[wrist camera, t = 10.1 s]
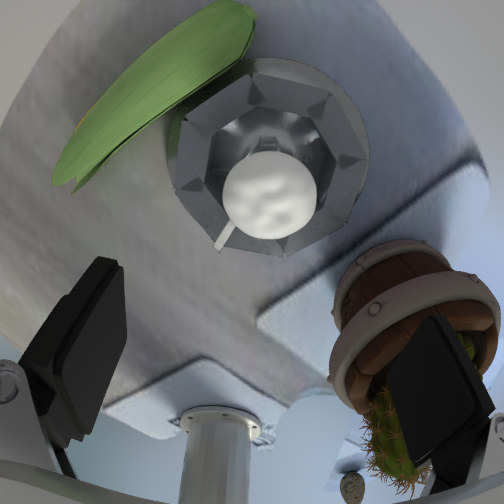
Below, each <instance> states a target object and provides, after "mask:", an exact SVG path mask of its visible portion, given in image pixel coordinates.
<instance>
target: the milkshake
mask: <svg viewBox="0 0 504 504" xmlns="http://www.w3.org/2000/svg"><path fill="white" fill-rule="evenodd" d="M316 197H317V190H316V184H315V181H314V179H313V177H312V175H311V173H310V172H309V170H308V169H307V168H306V167H305V165H304V164H303V163H302V162H301V161H300V160H299V159H298V158H297V157H296V156H295V154H294V153H293V152H292V151H291V149H290V148H289V147H288V146H287V144H285V143H284V142H283V141H281V140H280V139H279V138H277V137H276V136H264V135H260V136H259V137H257V138H256V139H254V140H253V141H251V142H250V143H248V145H247V146H246V148H245V150H244V152H243V153H242V155H241V157H240V159H239V160H238V162H237V163H236V164H235V166H234V167H233V168H232V169H231V171H230V172H229V174H228V176H227V178H226V181H225V184H224V188H223V195H222V199H223V205H224V208H225V211H226V213H227V215H228V216H229V218H230V220H229V221H228V223H227V224H226V226H225V227H224V229H223V231H222V232H221V234H220V235H219V237H218V238H217V240H216V242H215V243H214V245H213V248H214V249H215V250H216V252H217V253H220V251H221V249H222V248H223V246H224V245H225V243H226V241H227V240H228V238H229V236H230V235H231V233H232V231H233V230H234V228H235V226H237V227H238V228H239V229H240V230H241V231H243V232H244V233H246V234H248V235H250V236H252V237H255V238H260V239H279V238H283V237H286V236H288V235H290V234H292V233H294V232H296V231H298V230H299V229H301V228H302V227H304V226H305V225H306V224H307V223H308V221H309V220H310V219H311V217H312V216H313V214H314V211H315V207H316Z"/></svg>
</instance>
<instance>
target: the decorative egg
mask: <svg viewBox="0 0 504 504" xmlns="http://www.w3.org/2000/svg"><path fill="white" fill-rule="evenodd" d="M340 491H341V494H342V497H343V499H344V501H345V502H346V503H347V504H361V502H362V500H363V496H364V492H365V482H364V479H363V477H362V476H361V475H360V474H359V473H356V472H350V473H347V474H346V475H344V477H343V478H342V479H341V482H340Z"/></svg>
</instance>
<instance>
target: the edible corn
mask: <svg viewBox="0 0 504 504" xmlns="http://www.w3.org/2000/svg"><path fill="white" fill-rule="evenodd" d="M257 18H258V16H257V14H256V13H255V12H254V10H253V9H252V8H251V7H250V5H248V4H245V5H243V6H242V5H241V4H240V3H237V2H235V1H232V0H218V1H216V2H213V3H211V4H210V5H208V6H206V7H205V8H203V9H201V10H200V11H198V12H197V13H195V14H194V15H192V16H190V17H189V18H187V19H186V20H185V21H183V22H182V23H180V24H179V25H178V26H176V27H175V28H174V29H172V30H171V31H170V32H168V33H167V34H166V35H164V36H163V37H162V38H160V39H159V40H158V41H157V42H155V43H154V44H153V45H152V46H151V47H150V48H149V49H147V50H146V51H145V52H144V53H143V54H142V55H141V56H140V57H139V58H138V59H136V60H135V61H134V62H133V63H132V64H131V65H130V66H129V67H128V68H127V69H126V70H125V71H124V72H123V73H122V74H121V75H120V76H119V77H118V78H117V80H116V81H115V82H114V83H113V84H112V85H111V86H110V87H109V88H108V90H107V91H106V92H105V93H104V94H103V95H102V97H101V98H100V99H99V100H98V101H97V102H96V103H95V104H94V105H93V106H92V107H91V109H90V110H89V111H88V112H87V114H86V115H85V116H84V118H83V119H82V120H81V122H80V123H79V124H78V126H77V127H76V129H75V132H74V134H73V136H72V137H71V139H70V140H69V142H68V143H67V145H66V147H65V148H64V150H63V152H62V154H61V156H60V158H59V160H58V162H57V164H56V167H55V169H54V171H53V175H52V185H51V186H62V185H63V184H65V183H66V182H68V181H69V180H71V179H72V178H74V177H76V183H78V182H79V183H78V184H77V186H76V187H75V189H74V190H73V192H72V193H71V194H73V193H75V192H76V191H77V190H78V189H79V188H80V187H82V186H83V185H84V184H85V183H86V182H87V181H89V180H90V179H91V178H92V176H93V175H94V174H95V173H96V172H97V171H98V170H99V169H100V168H101V167H102V166H103V165H104V164H105V163H106V162H107V160H108V159H109V158H110V157H111V156H113V155H114V154H115V153H116V152H117V151H118V150H119V149H121V148H122V147H123V146H124V145H125V144H126V143H128V142H129V141H130V140H131V139H132V138H134V137H135V136H136V135H137V134H138V133H140V132H141V131H142V130H143V129H145V128H146V127H147V126H148V125H150V124H151V123H152V122H153V121H155V120H156V119H157V118H159V117H160V116H162V115H163V114H164V113H166V112H167V111H169V110H170V109H171V108H173V107H174V106H176V105H177V104H179V103H180V102H181V101H183V100H184V99H186V98H187V97H189V96H190V95H192V94H193V93H195V92H196V91H198V90H199V89H201V88H202V87H204V86H205V85H207V84H208V83H210V82H211V81H213V80H214V79H216V78H217V77H219V76H220V75H222V74H224V73H225V72H227V71H228V70H229V69H230V68H231V67H232V66H233V65H234V64H236V63H237V62H238V61H239V60H240V59H241V58H242V57H244V56H245V54H246V52H247V50H248V49H249V47H250V45H251V44H252V41H253V36H254V32H255V22H254V20H256V19H257Z"/></svg>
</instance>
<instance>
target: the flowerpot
mask: <svg viewBox="0 0 504 504" xmlns="http://www.w3.org/2000/svg"><path fill="white" fill-rule="evenodd" d="M331 314H332V315H333V316H334V320H335V324H336V326H337V328H338V330H339V331H340V335H339V337H338V339H337V341H336V342H335V345H334V347H333V350H332V353H331V356H330V361H329V373H330V375H329V376H328V378H327V381H328V382H329V383H331V384H333V387H334V390H335V392H336V394H337V396H338V397H339V398H340V400H341V401H342V402H343V403H344V404H345V405H347V406H348V407H350V408H351V409H354V410H355V411H356V412H357V413H358V414H360V415H363V416H364V418H365V419H367V420H368V421H369V422H368V421H367V420H364V419H363V420H364V421H362V422H365V421H366V422H367V423H366V422H365V423H366V424H367V425H369V426H362V428H365V427H366V429H367V430H368V429H370V431H371V430H372V432H371V433H370V434H371V435H372V438H371V440H370V441H369V440H367V439H366V440H365V439H363V438H362V437H361V438H362V439H363V440H365V441H368V442H370V443H367V444H368V445H367V444H366V443H365V444H366V445H367V446H368V449H369V448H371V449H369V450H370V452H369V450H363V451H368V452H369V453H371V451H373V452H374V454H375V456H372V457H375V459H374V461H373V462H375V463H373V462H371V461H370V460H369V459H368V460H369V461H370V462H371V463H369V464H372V467H373V466H374V467H375V465H376V466H378V468H380V469H381V470H377V469H374V467H373V469H372V470H375V471H381V472H382V473H381V472H379V473H381V480H382V477H383V472H384V474H385V475H386V476H387V475H388V476H392V477H394V478H396V480H394V481H395V482H394V483H393V484H395V483H396V482H397V483H396V484H395V486H396V485H397V484H398V482H399V485H400V486H401V485H403V486H404V484H405V485H406V481H408V482H407V483H408V484H407V486H408V488H409V487H410V484H412V490H413V492H412V496H413V493H414V487H415V486H414V483H415V482H417V483H419V484H426V482H423V480H425V478H426V476H427V475H428V474H427V473H429V472H427V471H430V472H431V470H432V469H431V470H430V469H429V468H433V467H429V466H428V467H425V468H420V469H415V468H414V464H413V462H412V461H411V460H410V458H409V454H408V450H407V447H406V443H405V439H404V436H403V432H402V429H401V425H400V422H399V418H398V415H397V412H396V408H395V405H394V402H393V399H392V395H391V392H390V389H389V386H388V383H387V373H388V371H389V369H390V368H391V367H392V365H393V364H394V362H395V361H396V359H397V358H398V357H399V355H400V354H401V352H402V351H403V349H404V348H405V346H406V345H407V343H408V342H409V340H410V339H411V337H412V336H413V334H414V333H415V331H416V329H417V328H418V326H419V325H420V323H421V321H422V320H423V319H424V318H426V317H427V316H428V315H430V314H434V315H442V316H445V317H446V318H447V319H448V321H449V323H450V324H451V326H452V328H453V329H454V331H455V333H456V334H457V336H458V338H459V340H460V341H461V343H462V345H463V347H464V348H465V350H466V352H467V354H468V355H469V357H470V359H471V361H472V363H473V365H474V366H475V368H476V370H477V372H478V374H479V376H480V378H481V380H483V376H482V375H483V374H484V373H485V372H486V371H487V370H488V368H489V367H490V365H491V363H492V362H493V359H494V357H495V354H496V351H497V345H498V336H499V331H500V324H501V313H500V306H499V303H498V301H497V300H496V298H495V297H494V295H493V294H492V292H491V291H490V290H489V288H488V287H487V286H486V285H485V284H484V283H483V282H482V281H481V280H480V279H479V278H478V277H477V275H476V274H469V273H466V272H461V271H454V270H453V269H451V266H450V264H449V262H448V261H447V259H446V258H445V257H444V256H443V255H442V254H441V253H440V252H439V251H438V250H437V249H435V248H434V247H432V246H430V245H428V242H427V241H425V240H423V241H417V240H413V239H402V240H394V241H390V242H386V243H383V244H379V245H377V246H374V247H372V248H370V249H369V250H367V251H366V252H365V253H364V254H362V255H360V256H359V257H357V258H356V259H355V260H354V261H353V262H352V264H351V265H350V266H349V268H348V269H347V270H346V272H345V273H344V275H343V276H342V278H341V280H340V282H339V285H338V287H337V290H336V294H335V299H334V307H333V310H332V311H331ZM484 386H485V385H484ZM487 390H488V389H487ZM365 423H364V424H365ZM367 427H368V428H367ZM362 428H360V429H362ZM367 430H366V431H367ZM366 431H365V433H366ZM365 433H364V434H365ZM372 433H373V434H372ZM367 435H368V436H369V434H367ZM363 437H364V436H363ZM365 438H366V437H365ZM369 439H370V438H369ZM365 444H362V445H365ZM370 445H373V446H372V447H371V446H370ZM367 446H366V447H367ZM366 447H365V449H366ZM360 450H362V449H360ZM369 453H368V454H369ZM368 454H367V455H368ZM374 454H373V455H374ZM366 457H367V456H366ZM372 457H370V458H372ZM372 460H373V458H372ZM367 463H368V462H367ZM431 465H432V464H431ZM370 467H371V466H370ZM372 467H371V468H372ZM365 468H368V467H365ZM371 468H370V469H371ZM370 469H369V470H370ZM427 469H428V470H427ZM425 470H426V471H425ZM425 472H426V475H425V476H423V474H422V473H425ZM379 473H378V474H379ZM378 474H376V476H377V475H378ZM420 474H421V477H419V475H420ZM385 475H384V476H385ZM373 476H375V475H373ZM388 476H387V477H388ZM370 477H371V476H370ZM392 477H390V478H392ZM424 477H425V478H424ZM418 478H422V482H419V481H417V480H418ZM423 478H424V479H423ZM391 480H392V479H391ZM404 480H405V482H404V483H402V482H403V481H404ZM386 481H387V480H386ZM392 481H393V480H392ZM400 482H401V483H400ZM389 486H390V485H389ZM400 486H398V489H399V487H400ZM407 486H406V487H407ZM404 487H405V486H404ZM406 487H405V488H406ZM405 488H404V489H405ZM408 488H407V489H406V491H407V490H408ZM398 489H397V490H398ZM404 489H403V490H404ZM403 490H402V491H403ZM402 491H400V492H399V493H401V492H402ZM406 491H405V492H406ZM405 492H404V493H405ZM399 493H397V494H399ZM404 493H403V494H404ZM412 496H411V498H412ZM411 498H410V500H411Z"/></svg>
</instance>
